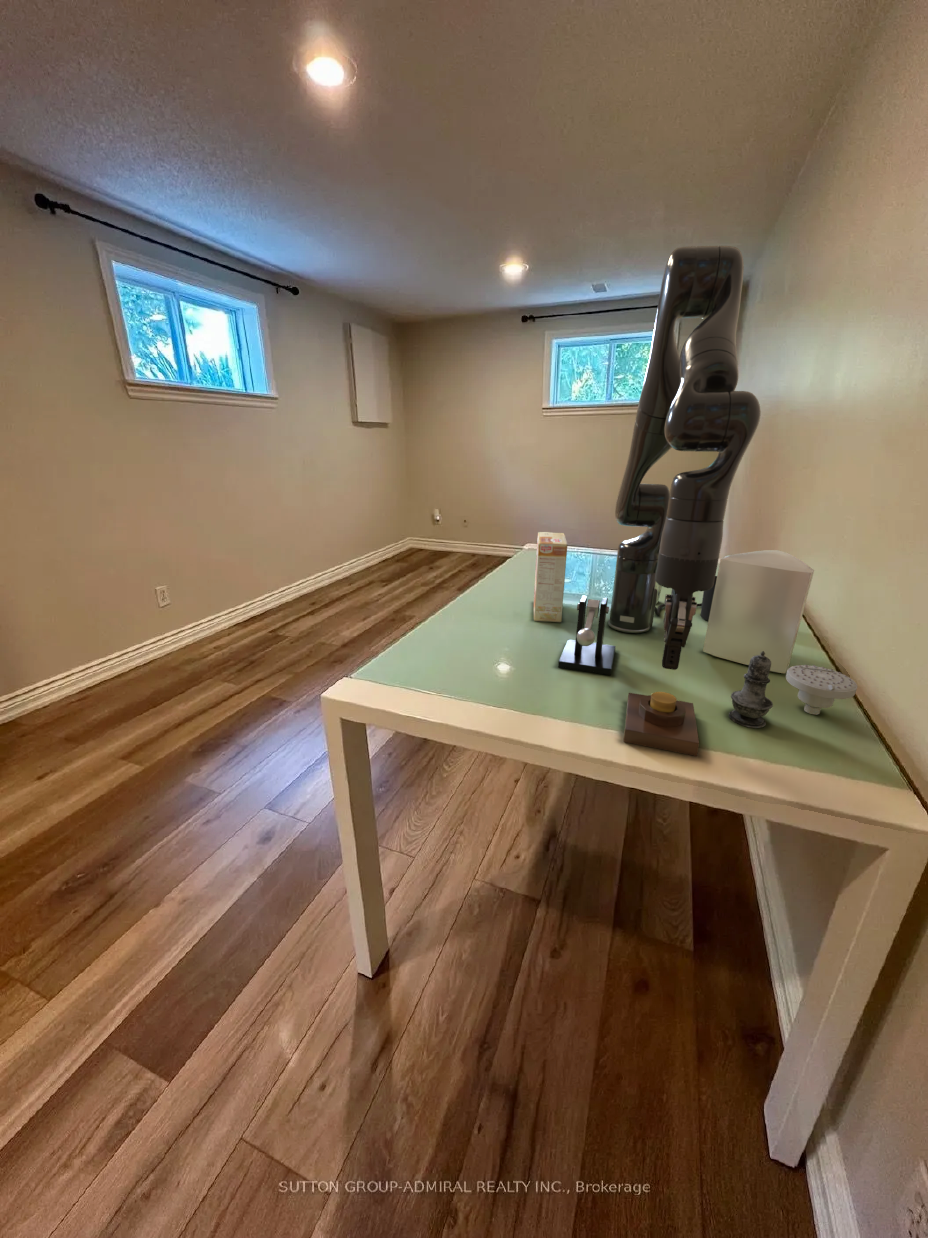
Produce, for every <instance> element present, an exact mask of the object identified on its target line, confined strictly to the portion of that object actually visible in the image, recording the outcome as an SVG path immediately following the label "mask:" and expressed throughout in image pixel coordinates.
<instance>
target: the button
mask: <svg viewBox="0 0 928 1238" xmlns="http://www.w3.org/2000/svg"><path fill="white" fill-rule="evenodd" d="M650 695H651V701H650V707H651V708H653V709H655V710H657V711H660V712H666V713H668V712H674V711H675V706H676V701H677V697H676V696H675V695H673V694H671V693H668V692H665V691H655V692H652V693H651V694H650Z"/></svg>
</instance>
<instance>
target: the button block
mask: <svg viewBox="0 0 928 1238" xmlns="http://www.w3.org/2000/svg"><path fill="white" fill-rule="evenodd" d="M651 695H652V694H650V695H649V694H648V695H647V694H639V693H636V692H635V693H634V692H628V694H627V702H626V709H625V711H626V713H625V720H624V729H623V731H624V732H623V740H622V741H623V742H624V743H628V744H634V745H638V746H643V747H648V748H653V749H658V750H664V751H668V752H672V753H673V752H674V753H679V754H684V755H689V756H694V757H697V756H698V752H699V747H700V738H699V732H698V727H697V726H698V725H697V720H696V714H695V707H694V703H693V702H689V701H682V700H679V699H678V700H677V701H676V706H675V711H674V712H668V713H666V712H660V711H657V710H655V709H653V708H651V707H650V701H651Z"/></svg>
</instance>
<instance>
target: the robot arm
mask: <svg viewBox="0 0 928 1238" xmlns="http://www.w3.org/2000/svg"><path fill="white" fill-rule="evenodd" d="M744 263H745V262H744V257H743V253H742V252H741V250H740V249H739V248H738V247H736V246H731V245H698V246H693V245H692V246H681V247H680V246H679V247H676V248H675V249H673V250H672V252H671V253H670V254H669V257H668V259H667V262H666V264H665V268H664V271H663V274H662V280H661V284H660V285H661V286H660V290H659V297H658V302H657V308H656V315H655V322H654V329H653V334H652V341H651V346H650V353H649V359H648V363H647V367H646V372H645V375H644V380H643V384H642V389H641V392H640V396H639V401H638V405H637V409H636V415H635V419H634V424H633V431H632V437H631V442H630V446H629V447H630V448H629V452H628V458H627V462H626V465H625V469H624V473H623V475H622V479H621V484H620V487H619V489H618V495H617V498H616V501H615V508H614V510H615V511H614V516H615V521H616V522H617V523H618V524H619V525H620V526H624V527H636V528H637V527H639V528H640V527H641V528H646V529H645V531H643V532H642V533H640V534H639V535H637V536H635V537H632V538H629V539H625V540H623V541H621V542H620V543H619V544H618V546H617V552H616V554H617V555H616V561H615V569H614V577H613V585H612V595H611V602H610V603H611V604H610V609H609V619H608V626H609V627H610V628H611V629H613V630H615V631H618V632H621V633H628V634H642V633H643V634H644V633H647V632H648V631H649V630H650V629H652V628H653V624H654V618H655V616H657V617H659V616H660V615H661V609H662V608H664V614H663V615H664V616H663V630H664V634H663V643H664V646H663V651H662V652H663V653H662V658H661V667H662V668H663V669H666V670H673V671H675V670H678V669H679V665H680V658H681V653H682V648H685V646H686V645H687V640H688V637H689V634H690V632H691V629H692V627H693V617H694V616H695V615H696V611H697V607H702V602H701V603H698V602H697V601H696V596H694V595H693V594H694V593H696V592H704V591H707V590H709V589H711V588H712V587H713V585H714V580H715V576H717V571H718V570H717V569H718V566H719V565H718V564H719V559H720V553H721V549H722V543H723V537H724V522H725V521H724V520H725V517H726V510H727V505H728V501H729V500H728V499H729V494H730V490H731V487H732V484H733V481H734V477H735V476H736V473H737V471H738V468H739V466H740V464H741V461H742V459H743V457H744V456H745V453H746V452H747V450H748V448H749V446H750V444H751V442H752V440H753V438H754V436H755V434H756V431H757V429H758V427H759V425H760V421H761V415H762V414H761V413H762V411H761V404H760V402H759V399H758V398H757V396H756V395H755V394H754V393H753V392H751V391H746V390H736V388H737V386H738V383H739V378H740V377H739V376H740V375H739V363H738V352H737V329H738V324H739V323H738V322H739V316H740V310H741V300H742V290H743V283H744V270H745V269H744V267H745V266H744ZM678 319H703V320H702V321H701V322H700V323H699V324H698V325H697V326H696V327H695V328H694V329H693V330H692V331H691V333H690V334H689V335H688V337H687V338H686V340H685V341H684V344H683V346H682V349H681V351H680V353H679V350H678V349H679V348H678V345H677V340H676V333H675V332H676V331H675V329H676V328H675V327H676V322H677V320H678ZM672 449H673V450H676V451H679V452H692V453H693V452H695V453H696V452H699V453H701V452H704V453H705V452H706V453H710V452H711V453H716V452H717V453H718V454H717V456H716V458H715V459H714V460H713V462H711V464H709V465H708V466H706V467H703V468H699V469H693V470H687V471H683V472H679V473H677V474H676V475H674V477H673V479H672V480H671V484H670V489H669V487H668V486H667V485H666V484H663V483H662V484H661V483H642V482H643V479H644V478H645V476H646V475H647V473H648V472H649V471H650V469H651V468H652V467H654V466H655V464H656V463H657V462H658V461H660V460H661V459H662V458H663V457H665V455H666V454H667V453H668V452H669V451H670V450H672ZM656 582H657V583H658V584H659V585H661V586H662V588H667V589H671V592H670V593H671V594H669V593H668V594H667V593H666V594H665V596H664V602H663V603H662V604H660V605H659V606H658V607H656V605H657V604H656V599H657V592H658V591H657V589H655V584H656Z"/></svg>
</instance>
